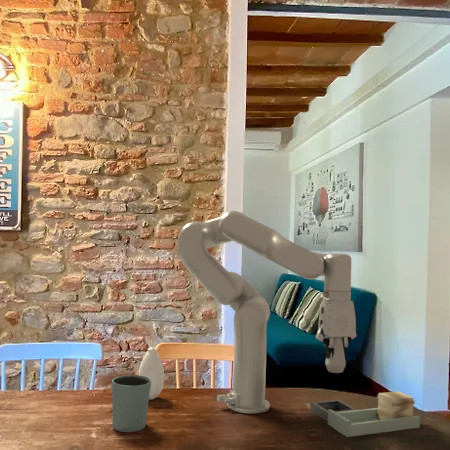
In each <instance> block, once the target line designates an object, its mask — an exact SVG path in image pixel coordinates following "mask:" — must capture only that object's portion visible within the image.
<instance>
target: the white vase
mask: <svg viewBox="0 0 450 450" xmlns="http://www.w3.org/2000/svg"><path fill="white" fill-rule="evenodd" d="M163 364H164V363H163V361H162V358H161V356H160V354H159V352H158V351H157V348H156V347H154V340H153V339H152V340H151V346H150V347H148V349H147V351H146V353H145V354H144V356H143V358H142V360H141V362H140V366H139V370H138V374H137V375H139V376H144V377H148V378H150V379H151V387H150V393H149V401H150V400H152V401H153V400H154V399H156V398H157V396H159V395H160V393H161V392H162V390H163V387H164V382H165V370H164V365H163Z"/></svg>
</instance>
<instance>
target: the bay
mask: <svg viewBox="0 0 450 450" xmlns="http://www.w3.org/2000/svg"><path fill="white" fill-rule="evenodd" d="M335 411H336V410H331V409H330V410H328V422H327V425H328V426H329V425H330V426H329V427H331V428H332V427H333V428H332V429H334V430H335V431H337V432H338V433H340V434H341V435H343V436H344V435H345V437H346V438H350V437H357V436H364V435H365V436H366V435H373V434H381V433H388V432H396V431H403V430H405V431H406V430H412V429H417V428H420V427H421V425H420V424H421V422H420V419H421V416H420V415H413V416H409V417H401V418H393V419H385V420H380V419H378V414H377V411H378V407H373V408H365V409H363V408H362V409H357V410H354V411H345V412H335Z"/></svg>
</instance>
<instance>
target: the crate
mask: <svg viewBox="0 0 450 450" xmlns="http://www.w3.org/2000/svg"><path fill="white" fill-rule="evenodd" d="M376 399H378V401H377V408H378V411H377V414H378V419H380V420H385V419H393V418H401V417H409V416H414V405H415V403H416V402H415V401H416V400H414V397H413V396H411V395H408V394H406V393H403V392H401V391H399V390H398V391H389V392H387V391H386V392H378V394H377V396H376Z"/></svg>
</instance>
